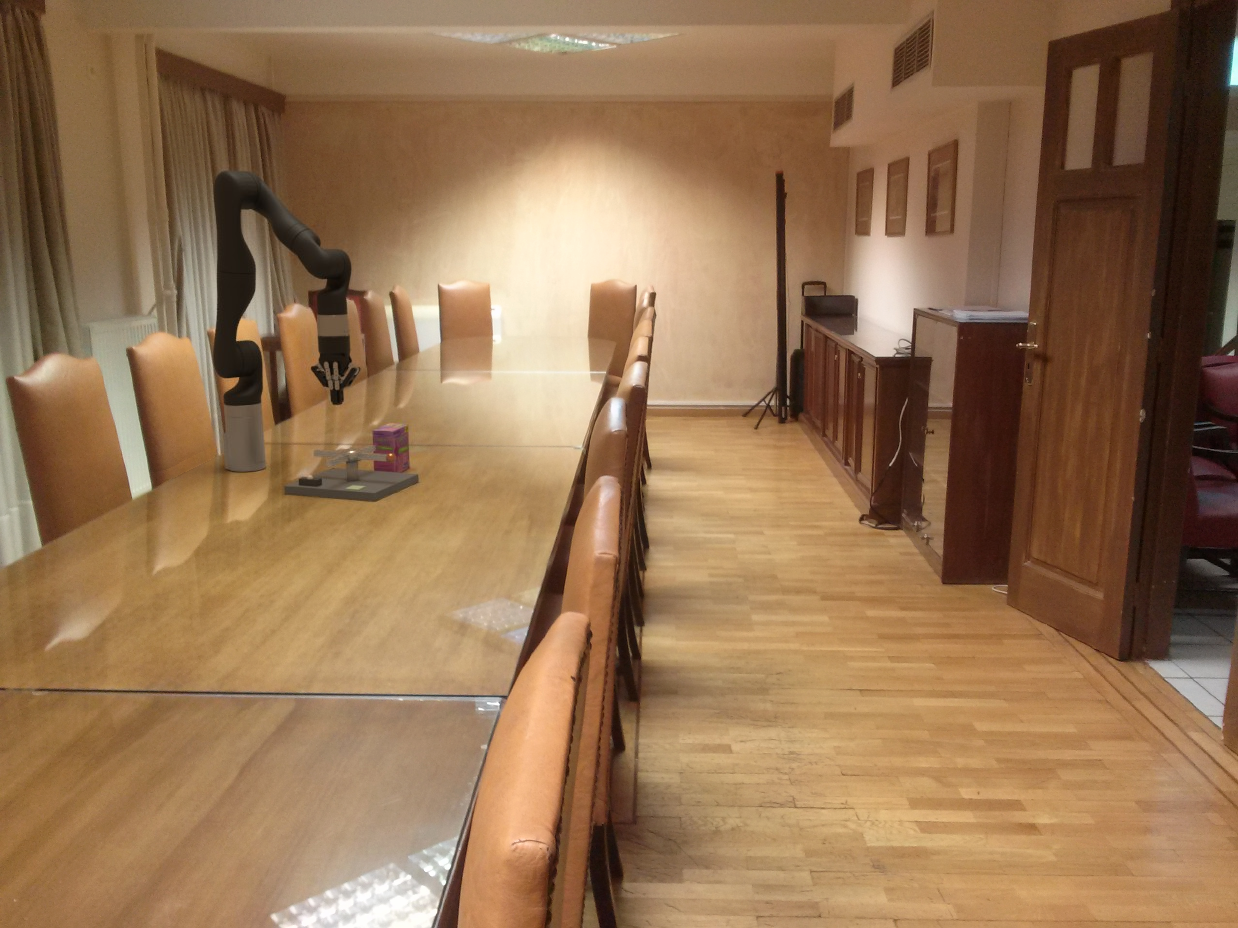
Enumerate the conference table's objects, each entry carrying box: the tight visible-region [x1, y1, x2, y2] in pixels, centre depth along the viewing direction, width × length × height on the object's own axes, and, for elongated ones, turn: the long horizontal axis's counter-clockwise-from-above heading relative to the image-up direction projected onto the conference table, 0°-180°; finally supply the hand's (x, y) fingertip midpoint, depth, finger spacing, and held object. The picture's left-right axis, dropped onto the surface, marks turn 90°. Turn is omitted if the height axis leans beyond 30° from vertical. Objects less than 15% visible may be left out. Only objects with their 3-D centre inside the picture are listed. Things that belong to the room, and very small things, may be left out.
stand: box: [284, 461, 420, 502], centre depth 260 cm, size 24×21×6 cm
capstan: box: [313, 444, 396, 468], centre depth 259 cm, size 22×20×2 cm
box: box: [372, 422, 411, 473], centre depth 277 cm, size 10×6×12 cm, turn 168°
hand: (337, 404), depth 264 cm, fingers closed
